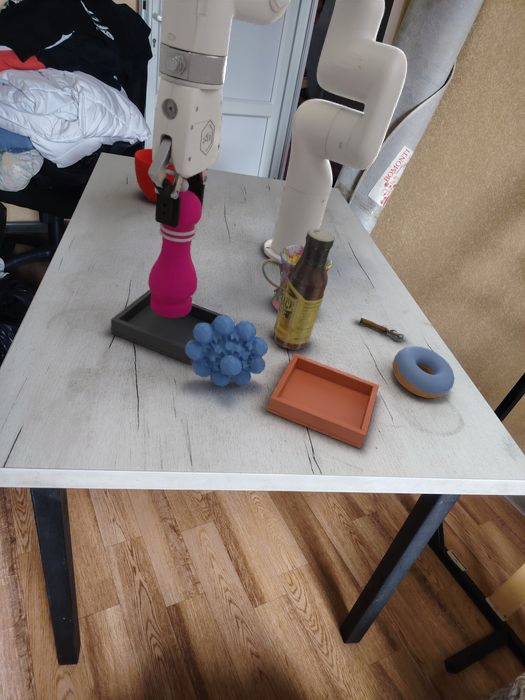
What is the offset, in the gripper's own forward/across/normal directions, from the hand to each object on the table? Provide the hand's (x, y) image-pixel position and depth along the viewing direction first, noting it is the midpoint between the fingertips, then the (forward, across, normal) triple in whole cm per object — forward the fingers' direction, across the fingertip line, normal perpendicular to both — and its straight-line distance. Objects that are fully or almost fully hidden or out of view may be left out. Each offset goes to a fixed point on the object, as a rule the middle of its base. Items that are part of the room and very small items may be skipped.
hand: (179, 215), depth 65 cm
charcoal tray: (+19, 0, 0) cm, 19 cm away
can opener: (+19, +22, -32) cm, 43 cm away
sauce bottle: (+20, +9, -18) cm, 28 cm away
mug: (+20, +19, -14) cm, 31 cm away
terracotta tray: (+19, -3, -27) cm, 33 cm away
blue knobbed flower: (+20, -8, -13) cm, 25 cm away
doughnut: (+20, +11, -40) cm, 46 cm away
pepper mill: (+15, 0, 0) cm, 15 cm away
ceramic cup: (+20, +48, +27) cm, 58 cm away
